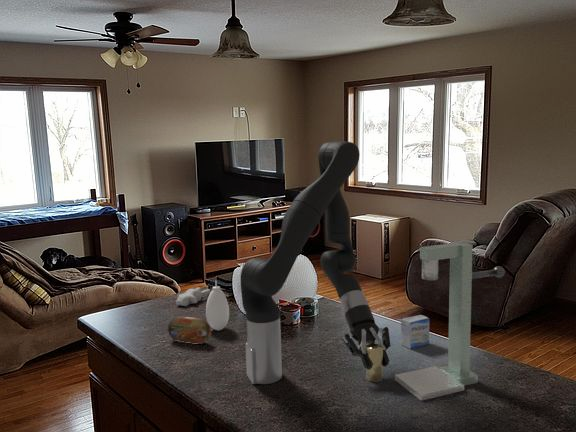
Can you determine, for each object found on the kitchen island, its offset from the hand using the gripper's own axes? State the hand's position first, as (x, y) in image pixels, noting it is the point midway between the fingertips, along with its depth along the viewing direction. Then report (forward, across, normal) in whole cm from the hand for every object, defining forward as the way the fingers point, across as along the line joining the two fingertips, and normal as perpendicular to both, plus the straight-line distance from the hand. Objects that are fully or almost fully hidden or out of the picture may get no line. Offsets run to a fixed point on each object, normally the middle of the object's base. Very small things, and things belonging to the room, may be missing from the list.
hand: (378, 366), depth 138 cm
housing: (+2, 0, +4) cm, 5 cm away
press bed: (+8, +20, -2) cm, 21 cm away
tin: (-31, -42, +38) cm, 65 cm away
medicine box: (-9, +23, +15) cm, 29 cm away
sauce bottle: (-36, -31, +43) cm, 64 cm away
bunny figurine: (-61, -34, +68) cm, 97 cm away
